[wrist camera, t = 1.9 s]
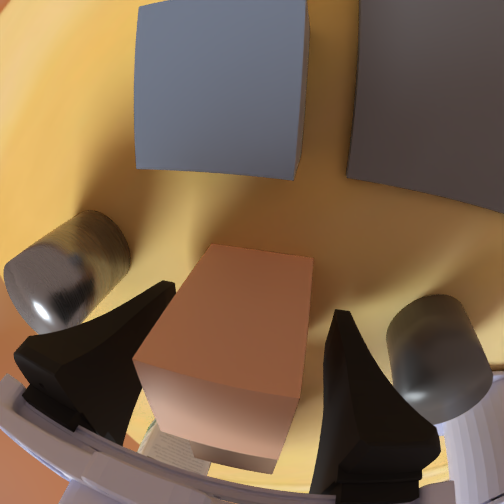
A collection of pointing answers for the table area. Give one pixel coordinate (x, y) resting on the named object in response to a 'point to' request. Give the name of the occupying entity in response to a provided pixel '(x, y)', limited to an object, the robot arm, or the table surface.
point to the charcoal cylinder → (437, 358)
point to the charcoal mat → (431, 98)
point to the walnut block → (233, 458)
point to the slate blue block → (221, 86)
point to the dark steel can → (67, 272)
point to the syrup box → (171, 450)
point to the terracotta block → (231, 351)
